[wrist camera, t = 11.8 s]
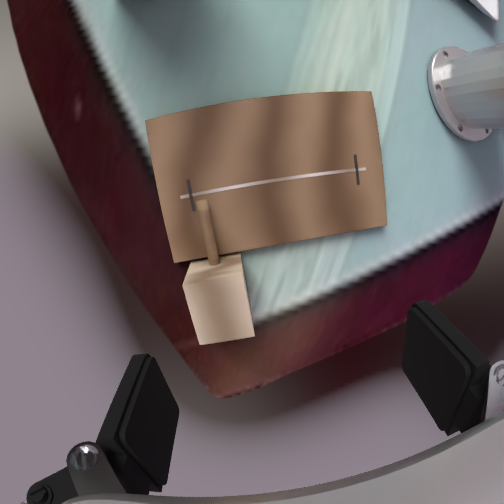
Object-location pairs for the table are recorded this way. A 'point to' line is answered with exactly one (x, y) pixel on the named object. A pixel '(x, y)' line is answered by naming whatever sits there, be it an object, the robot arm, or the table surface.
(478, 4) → the square plate
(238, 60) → the table surface
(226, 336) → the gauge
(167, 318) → the table surface
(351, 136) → the board
